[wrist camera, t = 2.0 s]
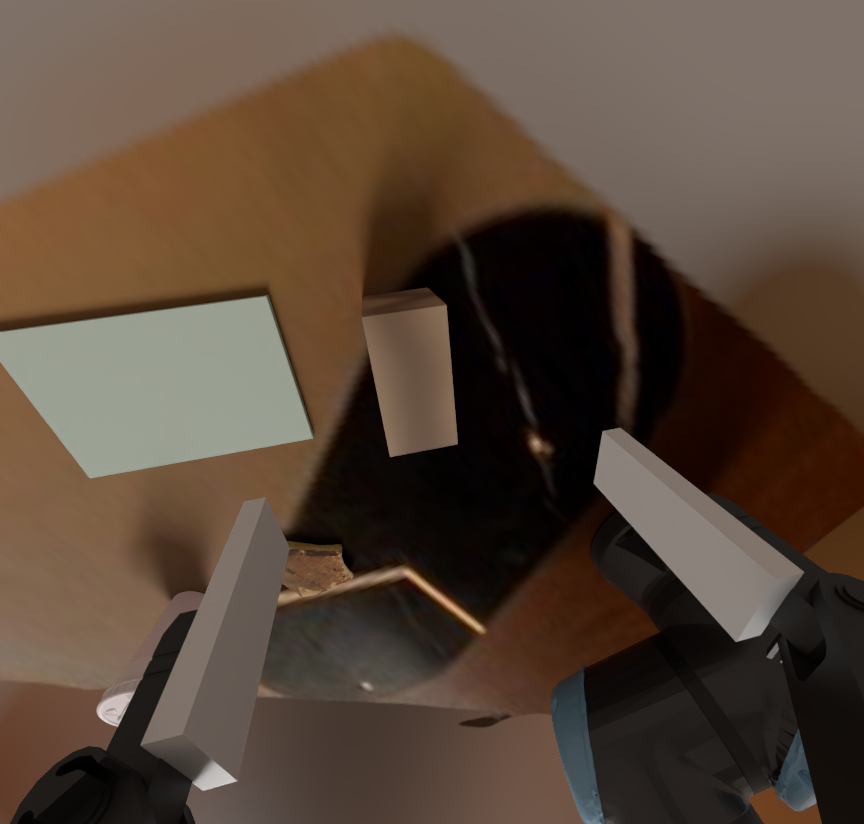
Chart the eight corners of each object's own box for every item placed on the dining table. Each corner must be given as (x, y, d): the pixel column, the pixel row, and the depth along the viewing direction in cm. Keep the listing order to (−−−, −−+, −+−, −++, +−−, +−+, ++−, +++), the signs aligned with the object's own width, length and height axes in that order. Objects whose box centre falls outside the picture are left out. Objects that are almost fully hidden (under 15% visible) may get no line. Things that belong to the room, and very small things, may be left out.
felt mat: (268, 294, 24) (266, 296, 24) (314, 434, 30) (313, 438, 30) (-12, 332, 23) (-21, 335, 22) (94, 473, 28) (89, 478, 28)
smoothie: (237, 603, 39) (178, 776, 26) (189, 627, 39) (111, 807, 27) (193, 574, 35) (103, 755, 23) (142, 600, 36) (28, 790, 24)
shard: (241, 533, 35) (235, 548, 33) (307, 502, 34) (304, 515, 33) (304, 588, 40) (301, 603, 38) (362, 561, 40) (362, 575, 38)
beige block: (427, 287, 26) (446, 304, 20) (439, 402, 31) (457, 444, 25) (362, 296, 26) (361, 317, 20) (384, 411, 31) (390, 456, 24)
